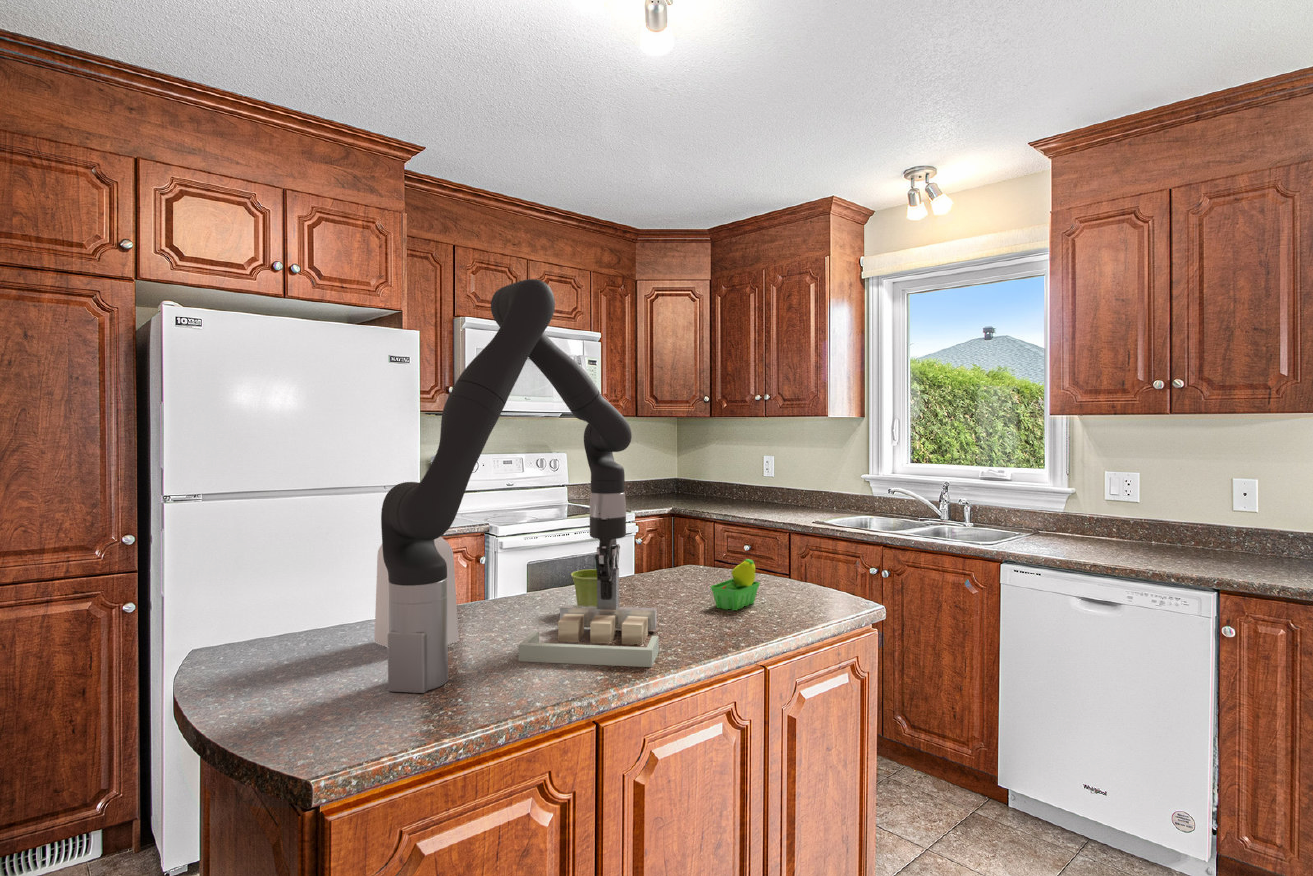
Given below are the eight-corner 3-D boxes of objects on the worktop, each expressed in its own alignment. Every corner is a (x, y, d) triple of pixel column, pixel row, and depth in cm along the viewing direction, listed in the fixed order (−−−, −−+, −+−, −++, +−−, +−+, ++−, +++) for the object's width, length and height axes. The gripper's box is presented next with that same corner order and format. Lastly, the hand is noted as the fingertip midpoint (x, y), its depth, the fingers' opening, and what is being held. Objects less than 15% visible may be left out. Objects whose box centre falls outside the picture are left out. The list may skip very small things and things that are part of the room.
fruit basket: (733, 598, 175) (733, 552, 174) (765, 603, 169) (765, 556, 169) (708, 608, 165) (708, 560, 165) (742, 614, 160) (742, 564, 160)
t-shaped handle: (654, 630, 145) (654, 572, 145) (559, 627, 148) (559, 569, 148) (656, 626, 148) (656, 569, 148) (563, 623, 151) (563, 566, 150)
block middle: (610, 644, 139) (610, 623, 139) (590, 643, 140) (590, 623, 139) (615, 635, 145) (615, 615, 145) (595, 634, 145) (595, 615, 145)
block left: (578, 642, 140) (578, 622, 140) (558, 642, 140) (558, 622, 140) (584, 633, 146) (584, 614, 146) (565, 633, 146) (564, 614, 146)
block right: (641, 645, 138) (641, 625, 138) (621, 644, 139) (621, 624, 139) (647, 636, 144) (647, 616, 144) (628, 635, 145) (628, 616, 145)
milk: (459, 641, 141) (457, 510, 140) (404, 655, 132) (402, 516, 132) (427, 630, 149) (426, 505, 148) (374, 642, 140) (372, 510, 140)
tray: (652, 667, 125) (652, 650, 125) (518, 661, 129) (518, 644, 129) (658, 651, 134) (658, 636, 134) (533, 646, 137) (533, 631, 137)
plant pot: (620, 609, 165) (620, 572, 164) (595, 619, 157) (595, 579, 156) (588, 604, 170) (588, 567, 169) (562, 613, 162) (562, 575, 161)
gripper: (597, 509, 155) (597, 589, 155) (581, 518, 141) (582, 605, 141) (631, 510, 154) (631, 590, 154) (619, 518, 140) (619, 606, 140)
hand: (608, 596), depth 148 cm, fingers closed on t-shaped handle, 3 cm apart
